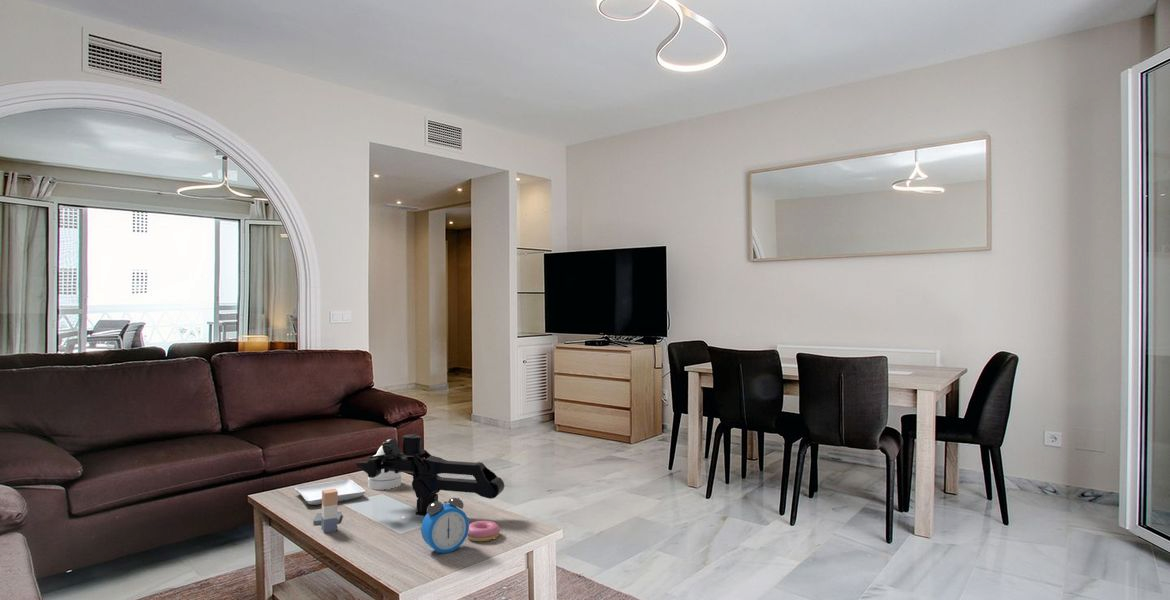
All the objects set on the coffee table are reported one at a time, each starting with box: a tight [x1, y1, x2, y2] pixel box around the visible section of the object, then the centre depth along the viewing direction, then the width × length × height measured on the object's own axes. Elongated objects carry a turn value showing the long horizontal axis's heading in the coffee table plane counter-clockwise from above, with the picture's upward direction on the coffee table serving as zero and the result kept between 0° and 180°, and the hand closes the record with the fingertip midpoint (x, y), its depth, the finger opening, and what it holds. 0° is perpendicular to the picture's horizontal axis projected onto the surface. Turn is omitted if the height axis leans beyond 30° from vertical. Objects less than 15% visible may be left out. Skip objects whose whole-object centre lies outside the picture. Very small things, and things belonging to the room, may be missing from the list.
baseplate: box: [312, 511, 343, 525], centre depth 212 cm, size 8×8×1 cm
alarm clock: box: [420, 497, 470, 556], centre depth 187 cm, size 13×6×15 cm, turn 128°
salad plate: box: [294, 479, 367, 506], centre depth 238 cm, size 21×21×3 cm
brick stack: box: [320, 489, 338, 533], centre depth 203 cm, size 4×4×13 cm
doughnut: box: [466, 520, 501, 542], centre depth 199 cm, size 11×11×4 cm
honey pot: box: [367, 439, 402, 491], centre depth 254 cm, size 13×13×18 cm
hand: (363, 461), depth 226 cm, fingers open, 9 cm apart
